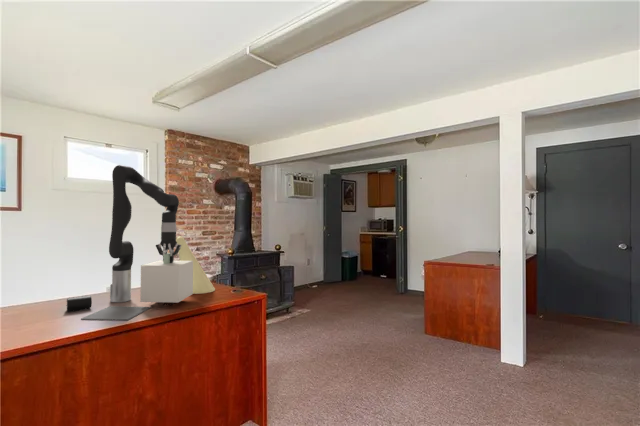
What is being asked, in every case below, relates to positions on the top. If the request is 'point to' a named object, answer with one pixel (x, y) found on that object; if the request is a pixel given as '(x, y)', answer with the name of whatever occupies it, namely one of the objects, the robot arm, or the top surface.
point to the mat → (116, 313)
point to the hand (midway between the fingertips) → (168, 262)
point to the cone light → (194, 269)
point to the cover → (166, 280)
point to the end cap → (79, 303)
